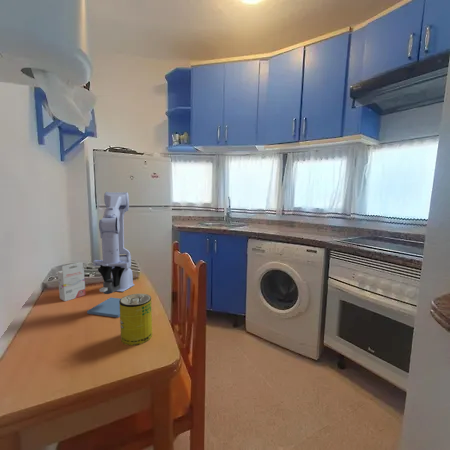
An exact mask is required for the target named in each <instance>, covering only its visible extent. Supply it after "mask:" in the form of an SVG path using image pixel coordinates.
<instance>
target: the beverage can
mask: <svg viewBox="0 0 450 450" xmlns="http://www.w3.org/2000/svg"><path fill="white" fill-rule="evenodd" d="M119 304H120V317H119V319H120V320H119V323H120V325H119V326H120V340H121V343H122V344H123V345H126V346H139V345H143V344H144V343H147V342H149V341H150V340H151V339H152V338H153V319H152V318H153V317H152V316H153V315H152V314H153V313H152V312H153V311H152V310H153V309H152V297H151V295H149V294H147V293H133V294H127V295H126V296H122V297H121V298H120V301H119Z"/></svg>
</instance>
